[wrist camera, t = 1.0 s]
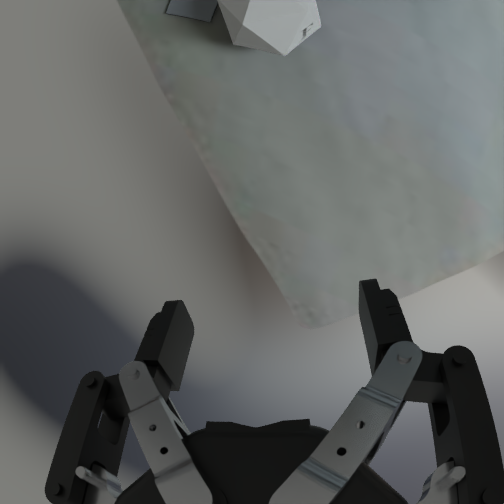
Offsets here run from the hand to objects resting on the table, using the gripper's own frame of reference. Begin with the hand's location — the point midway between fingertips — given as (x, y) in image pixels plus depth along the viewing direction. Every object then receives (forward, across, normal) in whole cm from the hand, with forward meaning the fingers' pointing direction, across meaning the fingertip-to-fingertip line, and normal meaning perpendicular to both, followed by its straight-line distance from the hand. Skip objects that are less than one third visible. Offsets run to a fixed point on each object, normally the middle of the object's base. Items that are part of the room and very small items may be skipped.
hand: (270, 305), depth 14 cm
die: (+24, -2, -15) cm, 29 cm away
